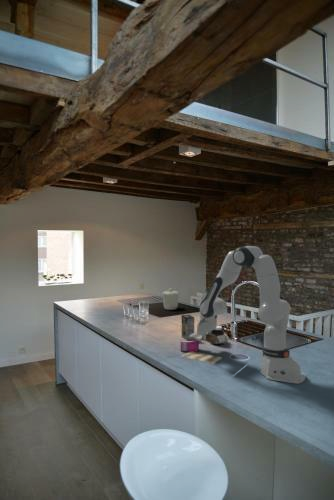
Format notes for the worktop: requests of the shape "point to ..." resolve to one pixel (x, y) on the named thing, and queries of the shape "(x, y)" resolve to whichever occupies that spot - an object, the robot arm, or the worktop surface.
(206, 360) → the board
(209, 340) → the paddle
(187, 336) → the coffee box
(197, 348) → the supplement box
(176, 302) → the canister
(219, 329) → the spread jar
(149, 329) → the worktop surface
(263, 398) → the worktop surface
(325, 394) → the worktop surface
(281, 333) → the robot arm
